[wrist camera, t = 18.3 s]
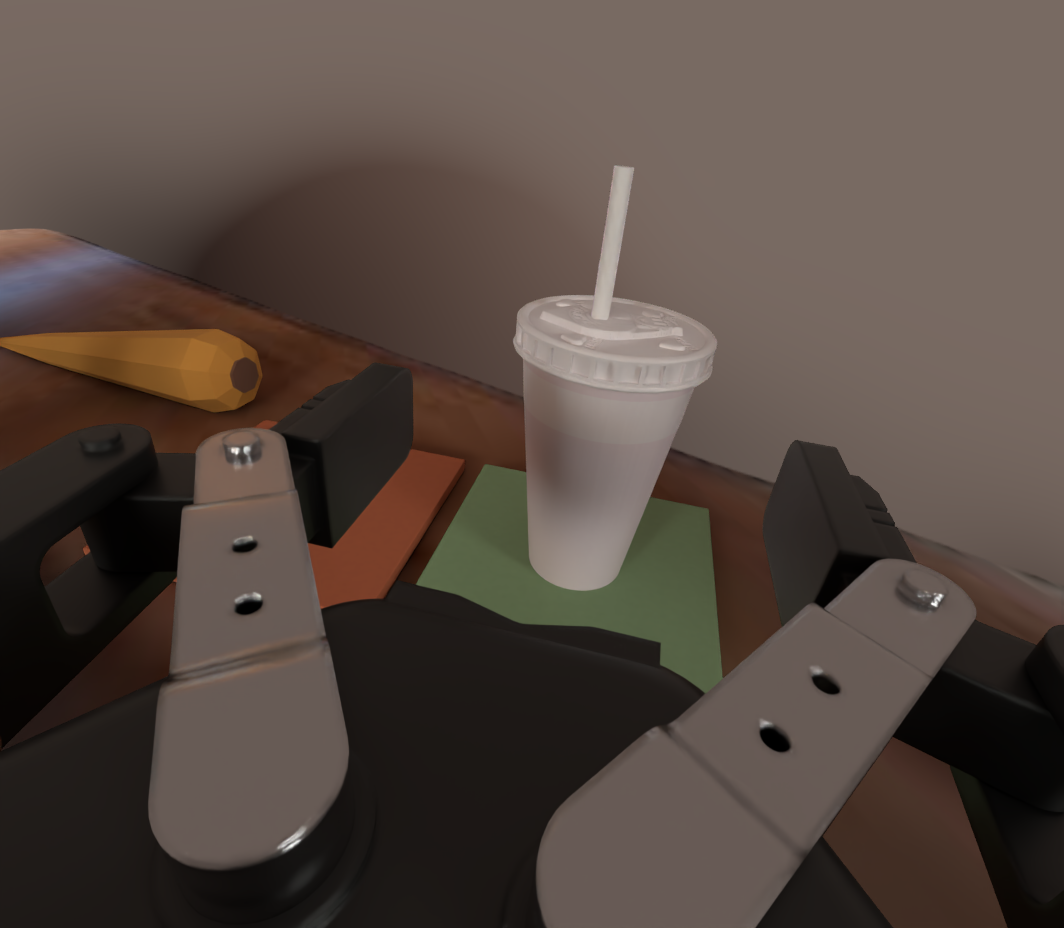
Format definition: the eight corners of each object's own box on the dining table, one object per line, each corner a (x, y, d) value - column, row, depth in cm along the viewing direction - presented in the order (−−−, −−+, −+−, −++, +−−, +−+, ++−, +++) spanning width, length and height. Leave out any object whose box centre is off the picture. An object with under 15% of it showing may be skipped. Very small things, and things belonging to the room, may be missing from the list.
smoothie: (498, 505, 26) (528, 149, 18) (640, 516, 26) (724, 171, 19) (490, 611, 20) (528, 164, 13) (669, 624, 21) (805, 195, 13)
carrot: (273, 416, 33) (278, 337, 32) (209, 418, 29) (213, 326, 28) (22, 377, 38) (22, 308, 38) (-63, 374, 34) (-65, 296, 33)
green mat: (705, 518, 27) (709, 508, 27) (720, 717, 18) (725, 705, 18) (484, 473, 29) (484, 463, 29) (392, 636, 20) (392, 624, 19)
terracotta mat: (465, 469, 29) (465, 459, 29) (364, 629, 20) (364, 617, 19) (266, 429, 30) (265, 419, 30) (86, 560, 21) (81, 547, 21)
